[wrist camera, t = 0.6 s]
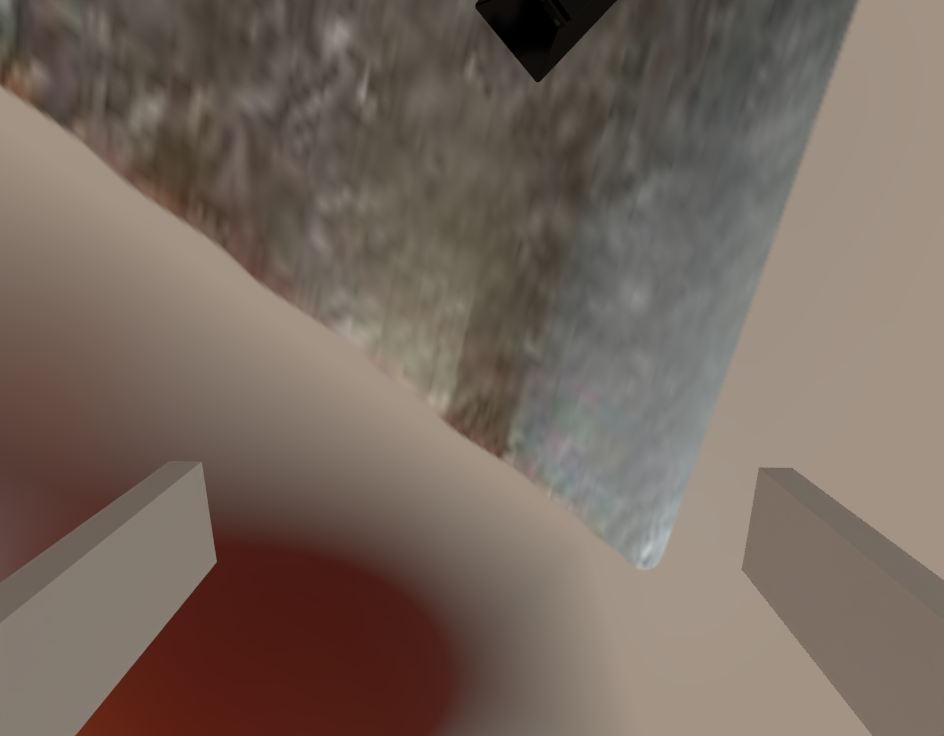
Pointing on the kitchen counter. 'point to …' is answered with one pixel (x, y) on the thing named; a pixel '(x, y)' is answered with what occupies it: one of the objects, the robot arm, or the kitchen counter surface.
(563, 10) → the black block
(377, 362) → the kitchen counter surface
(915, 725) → the robot arm
